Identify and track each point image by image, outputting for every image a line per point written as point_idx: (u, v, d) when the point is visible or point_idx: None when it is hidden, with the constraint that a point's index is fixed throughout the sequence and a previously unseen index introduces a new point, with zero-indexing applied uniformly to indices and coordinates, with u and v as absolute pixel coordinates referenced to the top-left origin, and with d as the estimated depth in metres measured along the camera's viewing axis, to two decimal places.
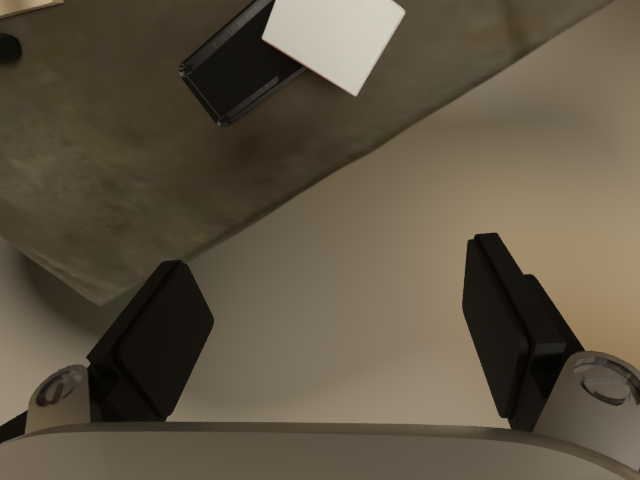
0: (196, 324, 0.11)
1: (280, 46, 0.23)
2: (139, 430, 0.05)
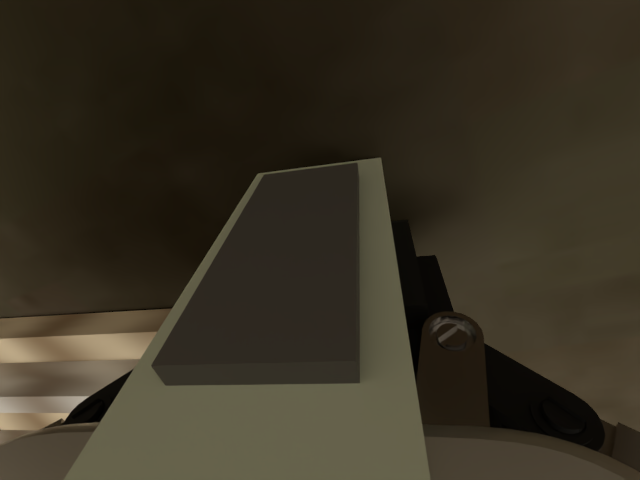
0: None
1: None
2: None
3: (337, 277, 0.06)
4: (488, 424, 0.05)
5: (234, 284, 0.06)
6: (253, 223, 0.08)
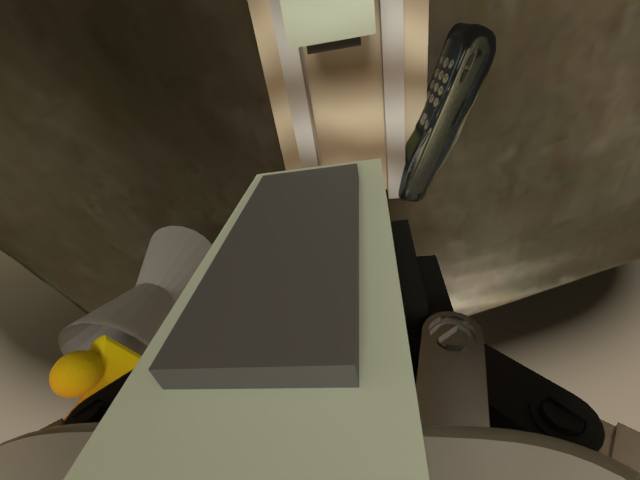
0: None
1: None
2: None
3: (336, 279, 0.06)
4: (488, 424, 0.05)
5: (232, 286, 0.06)
6: (252, 225, 0.08)
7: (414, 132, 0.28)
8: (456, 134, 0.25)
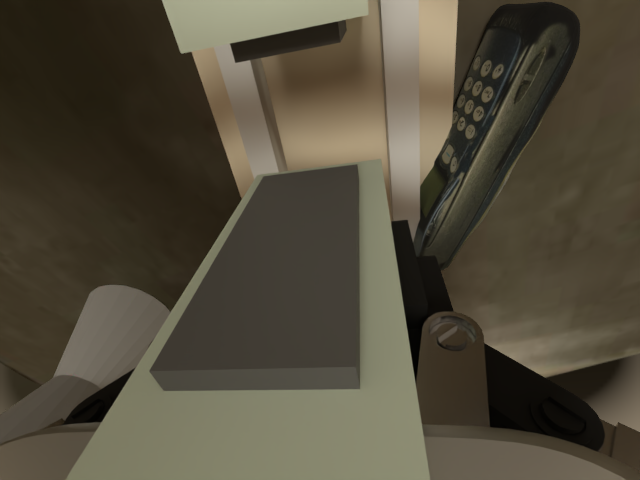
0: None
1: None
2: None
3: (337, 281, 0.06)
4: (488, 424, 0.05)
5: (233, 288, 0.06)
6: (252, 226, 0.08)
7: (433, 171, 0.19)
8: (502, 181, 0.16)
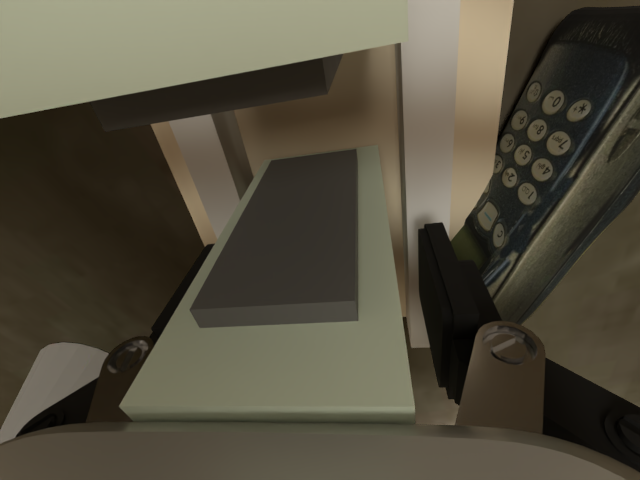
0: None
1: None
2: (139, 430, 0.05)
3: (340, 242, 0.07)
4: None
5: (252, 250, 0.07)
6: (264, 201, 0.09)
7: (463, 234, 0.14)
8: (573, 264, 0.11)
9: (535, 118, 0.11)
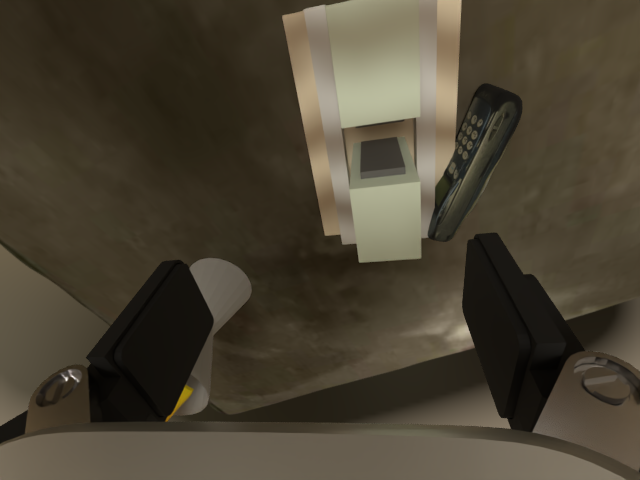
0: (196, 324, 0.11)
1: None
2: (139, 429, 0.05)
3: (398, 159, 0.23)
4: None
5: (370, 162, 0.24)
6: (367, 152, 0.26)
7: (442, 178, 0.30)
8: (484, 184, 0.27)
9: (469, 125, 0.27)
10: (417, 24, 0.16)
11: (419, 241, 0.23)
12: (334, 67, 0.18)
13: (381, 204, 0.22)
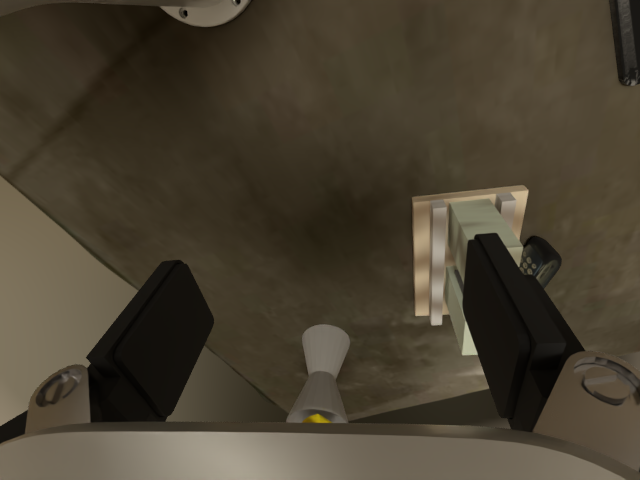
0: (196, 324, 0.11)
1: None
2: (139, 430, 0.05)
3: None
4: None
5: None
6: None
7: None
8: None
9: (524, 261, 0.43)
10: (519, 259, 0.32)
11: None
12: None
13: None
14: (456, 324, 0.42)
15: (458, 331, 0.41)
